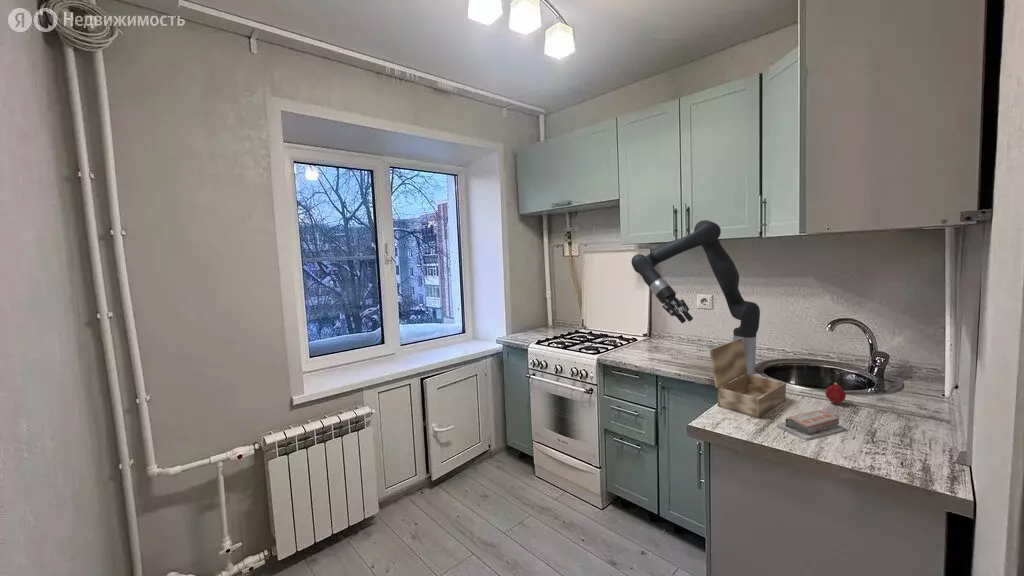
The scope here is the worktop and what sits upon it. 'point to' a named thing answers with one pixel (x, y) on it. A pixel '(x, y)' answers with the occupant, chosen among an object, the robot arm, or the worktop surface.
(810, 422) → the packaged product
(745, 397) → the carton
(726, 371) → the carton lid
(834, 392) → the onion
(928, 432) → the worktop surface
